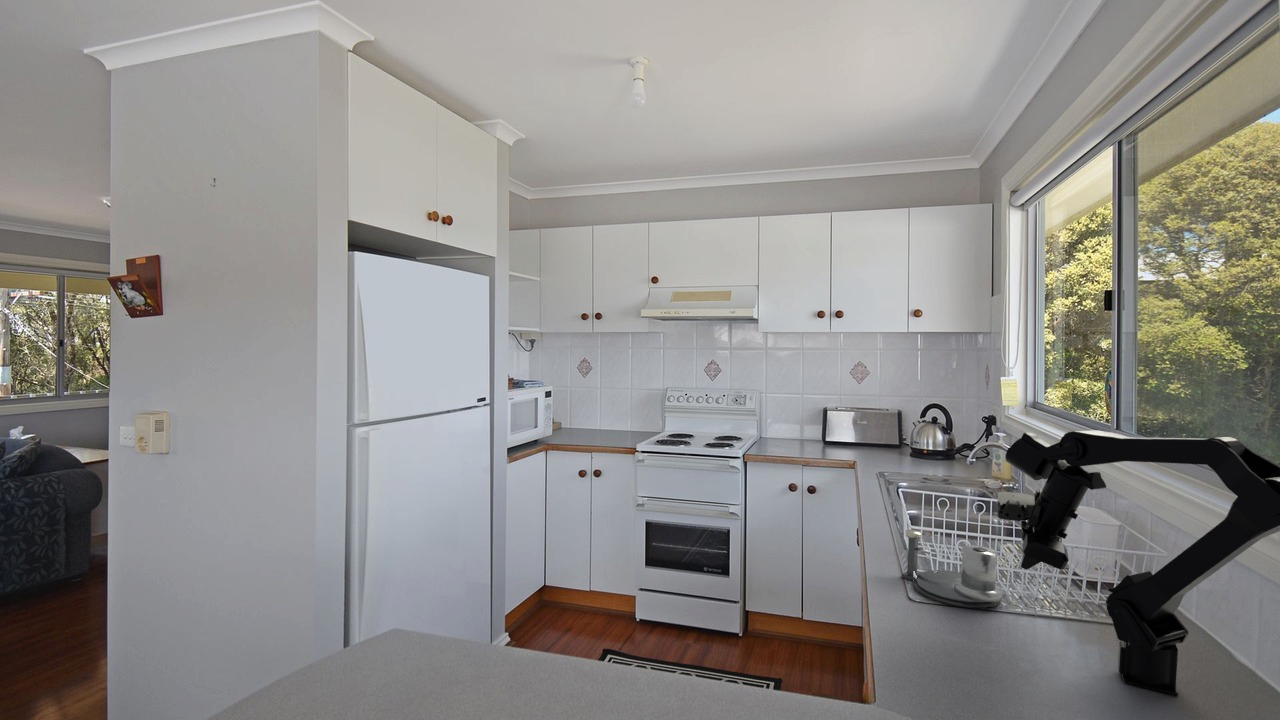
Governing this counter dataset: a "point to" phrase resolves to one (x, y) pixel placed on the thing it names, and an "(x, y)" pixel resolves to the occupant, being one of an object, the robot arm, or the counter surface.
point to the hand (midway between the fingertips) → (1023, 567)
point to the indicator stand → (913, 553)
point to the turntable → (945, 589)
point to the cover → (978, 575)
